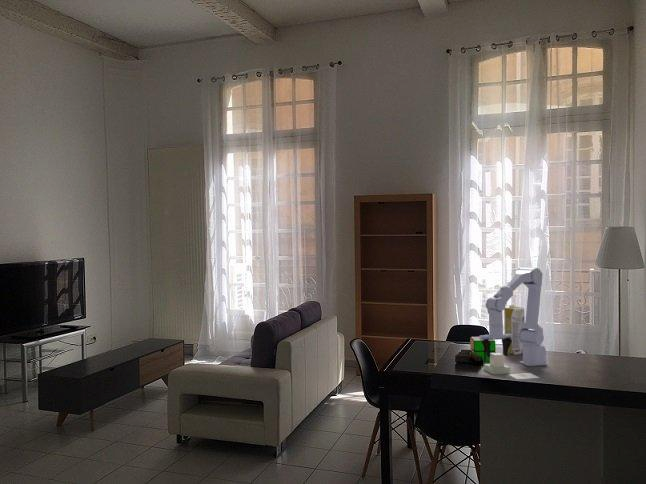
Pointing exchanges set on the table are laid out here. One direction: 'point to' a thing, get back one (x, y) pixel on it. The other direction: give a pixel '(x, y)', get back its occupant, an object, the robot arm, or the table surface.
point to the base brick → (496, 369)
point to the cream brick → (496, 359)
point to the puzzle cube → (481, 348)
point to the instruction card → (523, 376)
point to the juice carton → (514, 327)
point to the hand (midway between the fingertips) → (496, 356)
